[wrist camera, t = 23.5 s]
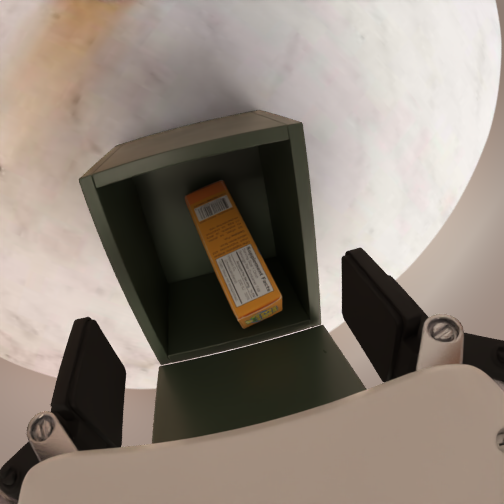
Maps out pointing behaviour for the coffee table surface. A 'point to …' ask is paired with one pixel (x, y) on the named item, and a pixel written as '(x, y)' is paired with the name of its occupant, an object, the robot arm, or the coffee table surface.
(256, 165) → the bin
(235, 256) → the supplement box
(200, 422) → the bin lid
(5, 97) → the coffee table surface
